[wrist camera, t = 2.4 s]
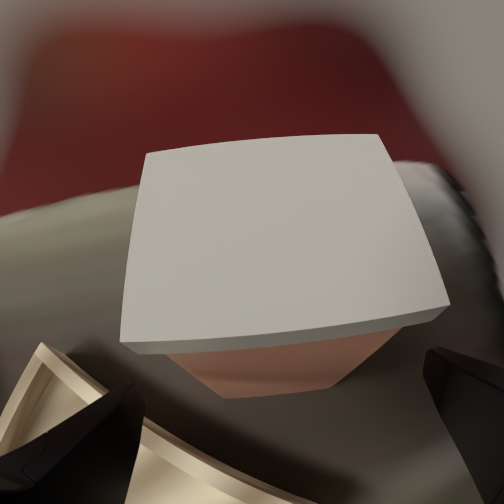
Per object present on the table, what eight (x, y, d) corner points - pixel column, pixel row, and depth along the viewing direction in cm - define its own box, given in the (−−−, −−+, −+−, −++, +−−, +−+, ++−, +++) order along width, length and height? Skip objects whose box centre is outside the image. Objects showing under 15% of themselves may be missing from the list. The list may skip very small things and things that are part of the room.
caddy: (335, 391, 18) (450, 304, 6) (220, 404, 18) (119, 341, 6) (322, 308, 21) (377, 134, 9) (216, 319, 21) (146, 153, 9)
